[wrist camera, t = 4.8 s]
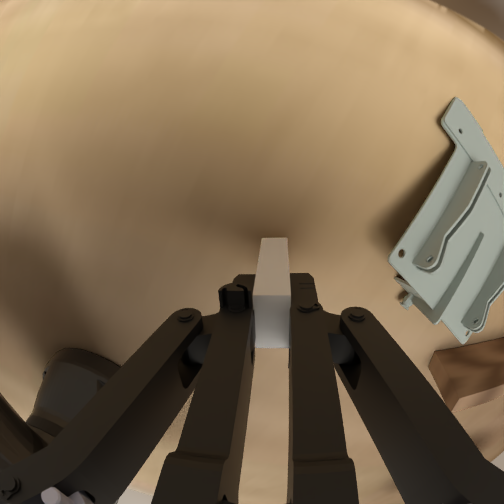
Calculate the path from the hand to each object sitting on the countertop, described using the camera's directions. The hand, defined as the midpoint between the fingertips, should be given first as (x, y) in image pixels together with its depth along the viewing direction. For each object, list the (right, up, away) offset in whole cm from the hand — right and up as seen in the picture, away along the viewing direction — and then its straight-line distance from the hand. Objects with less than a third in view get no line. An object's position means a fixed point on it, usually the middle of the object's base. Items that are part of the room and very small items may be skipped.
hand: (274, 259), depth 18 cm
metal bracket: (+14, +2, 0) cm, 14 cm away
